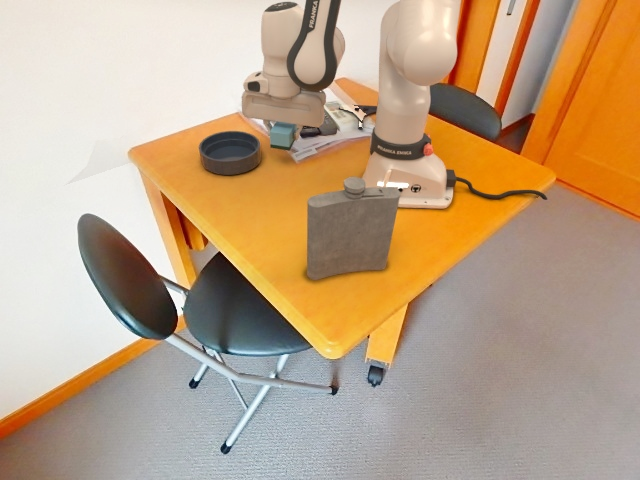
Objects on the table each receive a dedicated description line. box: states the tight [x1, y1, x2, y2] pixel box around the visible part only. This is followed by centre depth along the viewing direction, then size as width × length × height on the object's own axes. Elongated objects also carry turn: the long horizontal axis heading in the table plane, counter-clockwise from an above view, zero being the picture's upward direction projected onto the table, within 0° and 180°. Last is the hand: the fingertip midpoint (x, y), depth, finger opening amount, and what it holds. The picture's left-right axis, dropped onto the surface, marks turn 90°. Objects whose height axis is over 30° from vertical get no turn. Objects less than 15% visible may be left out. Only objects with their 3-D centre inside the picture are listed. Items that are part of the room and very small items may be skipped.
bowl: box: [198, 130, 262, 176], centre depth 104 cm, size 16×16×4 cm
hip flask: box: [306, 176, 400, 281], centre depth 71 cm, size 16×4×20 cm, turn 103°
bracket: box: [353, 104, 377, 130], centre depth 124 cm, size 14×15×3 cm
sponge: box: [269, 122, 298, 151], centre depth 101 cm, size 8×5×4 cm, turn 168°
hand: (283, 137), depth 101 cm, fingers closed on sponge, 5 cm apart
